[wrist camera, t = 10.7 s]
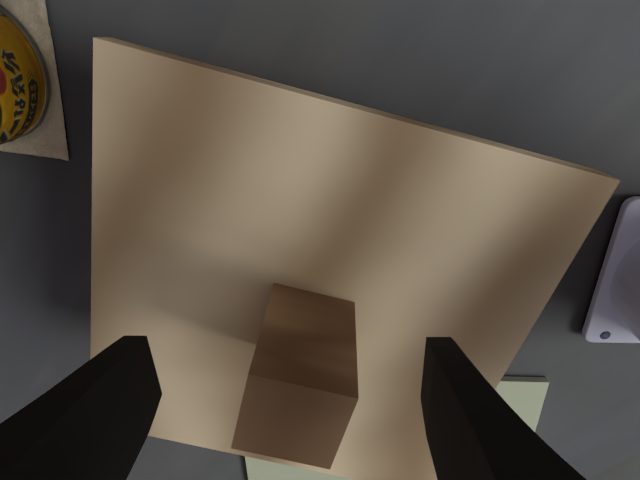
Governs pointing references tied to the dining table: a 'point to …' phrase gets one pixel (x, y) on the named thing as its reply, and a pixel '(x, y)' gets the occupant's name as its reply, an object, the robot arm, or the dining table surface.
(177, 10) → the dining table surface
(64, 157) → the condiment
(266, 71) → the dining table surface
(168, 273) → the cover board
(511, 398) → the pale green square mat
